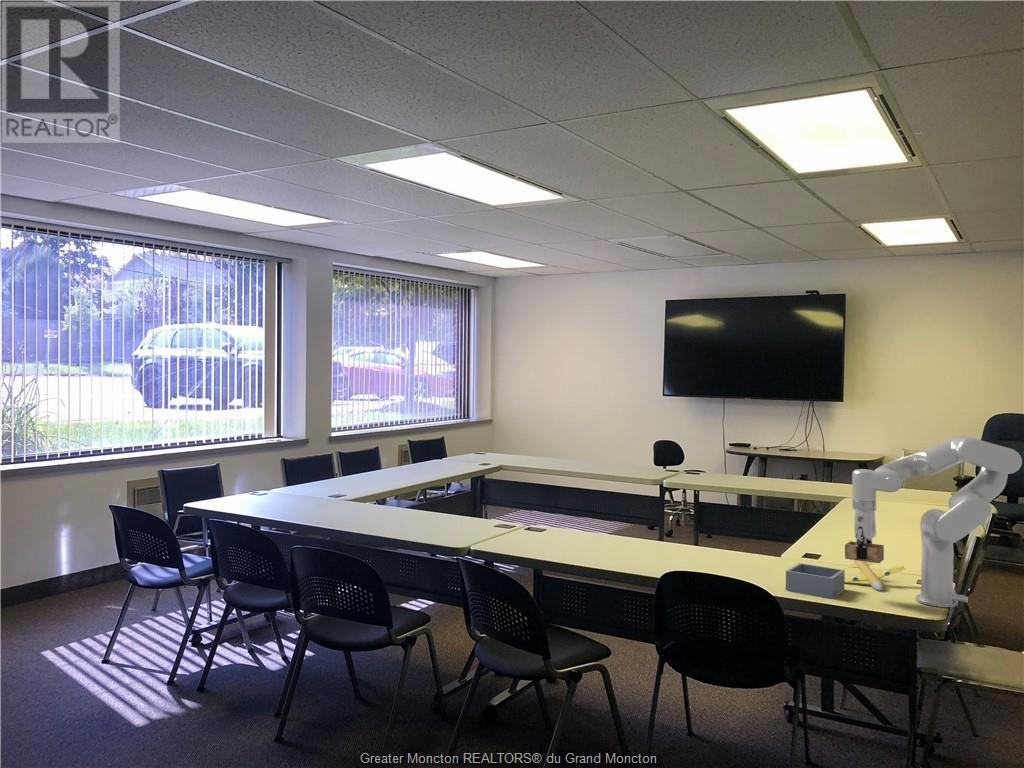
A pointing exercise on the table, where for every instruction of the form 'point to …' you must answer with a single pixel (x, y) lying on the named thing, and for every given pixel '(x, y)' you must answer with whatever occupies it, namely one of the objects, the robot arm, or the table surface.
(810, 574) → the blue-grey open box
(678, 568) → the table surface
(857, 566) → the toy jet
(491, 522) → the table surface
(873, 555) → the walnut crate
